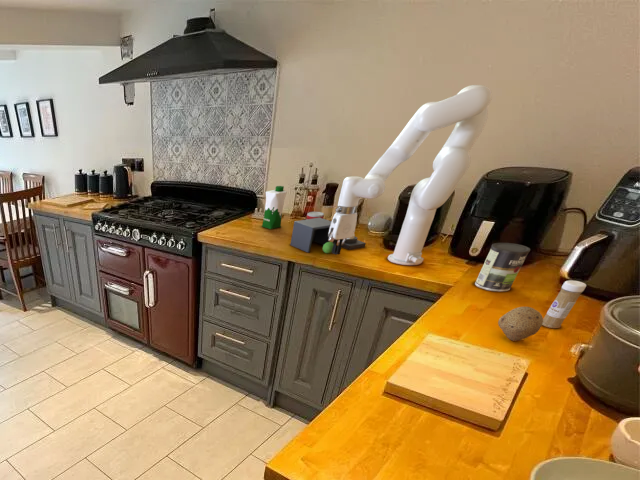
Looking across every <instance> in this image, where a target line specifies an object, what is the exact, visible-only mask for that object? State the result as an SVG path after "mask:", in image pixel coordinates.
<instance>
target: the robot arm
mask: <svg viewBox="0 0 640 480" xmlns="http://www.w3.org/2000/svg"><path fill="white" fill-rule="evenodd" d="M492 99H493V92H492V90H491V88H490V87H489V86H486V85H484V84H483V85H482V84H472V85H471V84H470V85H468V86H465V87H464V88H462V89H461V90H459V92H457V93H456V94H455V95H452V96H449V97H448V98H445V99H442V100H439V101H428V102H426V103H424V104H422V105H421V106H420V107H419V108H418V109H417V110H416V112H415V113H414V114H413V116H412V117H411V118H410V119H409V121H408V122H407V123H406V125H405V126H404V128H403V129H402V130H401V131H400V132H399V134H398V136H397V137H396V138H395V139H394V141H393V142H392V143H391V145H390V146H389V147H388V148H387V149H386V150H385V151H384V153H383V154H382V155H381V156H380V157H379V158H378V160H377V161H376V162H375V164H374V165H373V166H372V168H371V169H370V170H369V171H368V173H367V174H366V175H365V177H362V176H357V175H353V176H351V175H350V176H346V177H345V178H344V179H343V181H342V185H341V189H340V192H339V193H340V194H339V197H338V202H337V206H336V208H335V209H334V211H335V213H334V215H333V217H332V219H331V221H332V222H331V225H330V229H329V233H328V237H329V239H328V241H330V242H332V243H333V244H334V245H333V249H332V252H331V254H333V255H337V256H338V255H341V251H342V248H343V247H342V245H343V244H344V242H345V241H346V240H347V239H349V238H350V237H352V236H353V235H354V234H355V232H356V226H357V220H358V212H357V211H358V210H357V209H358V205H359V202H360V198H363V199H370V200H371V199H372V200H373V199H377V198H379V197H380V196H382V195H383V194H384V192H385V190H386V183H385V182H386V181H387V180H388V178H389V177H390V175H391V174H392V173H394V171H395V170H396V169H397V168H398V167H399V166H400V165H402V164H403V163H404V162H406V161H408V160H409V159H410V158H411V157H412V156H413V155H414V154H415V152H416V151H417V150H418V149H419V148H420V147H421V145H422V144H423V143H424V141H425V140H426V139H427V138H428V137H429V135H430V134H431V133H432V132H435V131H437V130H441V129H445V128H447V127H449V126H452V125H454V127H453V129H452V131H451V133H450V134H449V136H448V138H447V139H446V141H445V143H444V144H443V146H442V147H441V149H440V150H439V152H438V153H437V155H436V156H435V157H434V159H433V162H432V170H433V172H432V173H431V175H430V177H425V178H422V179H421V180H420V181H418V182H417V183H416V184H415V185H414V187H413V189H412V191H411V194H410V198H409V202H408V206H407V210H406V214H405V217H404V220H403V222H402V225H401V229H400V232H399V235H398V238H397V241H396V244H395V247H394V250H393V253H390V254H388V256H387V260H388V262H391V263H393V264H397V265H403V266H418V265H421V264H422V263H423V262H424V260H425V258H424V257H422V255H423V248H424V246H425V244H426V243H425V242H426V240H427V237H428V235H429V232H430V229H431V226H432V224H433V221H434V218H435V215H436V212H437V209H439V208H441V207H442V206H443V205H444V204H445V203H446V202H447V201H448V199H450V197H451V195H452V194H453V193H454V192H455V190H456V188H457V187H458V186H459V184H460V183H461V181H462V180H463V178H464V177H465V175H466V174H467V172H468V171H469V168H470V167H471V166H470V165H471V162H472V159H471V155H470V152H471V150H472V149H473V147H474V145H476V142H477V141H478V139H479V137H481V135H482V133H483V132H484V128H485V126H486V124H487V120H488V115H489V105H490V104H491V101H492Z"/></svg>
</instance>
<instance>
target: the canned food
mask: <svg viewBox="0 0 640 480" xmlns="http://www.w3.org/2000/svg"><path fill="white" fill-rule="evenodd" d="M313 218H323V219H325V212H322V211H309V212H307V214H306V219H305V220H307V219H313Z"/></svg>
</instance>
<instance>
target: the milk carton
mask: <svg viewBox="0 0 640 480" xmlns="http://www.w3.org/2000/svg"><path fill="white" fill-rule="evenodd" d="M284 188H285V187H284V185H276V186H275V189H272V190H267V191H265V206H264V213H263V220H262V224H261V227H263V228H265V229H269V230H274V229H278V228H281V226H282V216H283V211H284V205H285V204H284V203H285V200H286V196H287V194H288V191H287V190H285V189H284Z"/></svg>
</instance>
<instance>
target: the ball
mask: <svg viewBox="0 0 640 480" xmlns="http://www.w3.org/2000/svg"><path fill="white" fill-rule="evenodd" d="M333 245H334V244H333V243H332V242H327V243H325V244H324V245H322V251H323V253H325V254H332V249H333Z"/></svg>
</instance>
